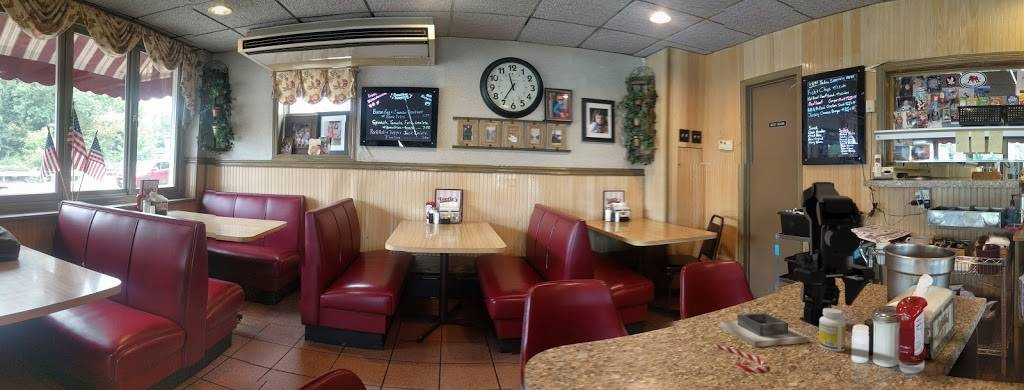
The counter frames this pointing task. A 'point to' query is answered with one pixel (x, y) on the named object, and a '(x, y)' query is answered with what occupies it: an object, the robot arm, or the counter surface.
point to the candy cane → (749, 369)
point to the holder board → (763, 330)
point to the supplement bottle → (832, 330)
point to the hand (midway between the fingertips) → (832, 306)
